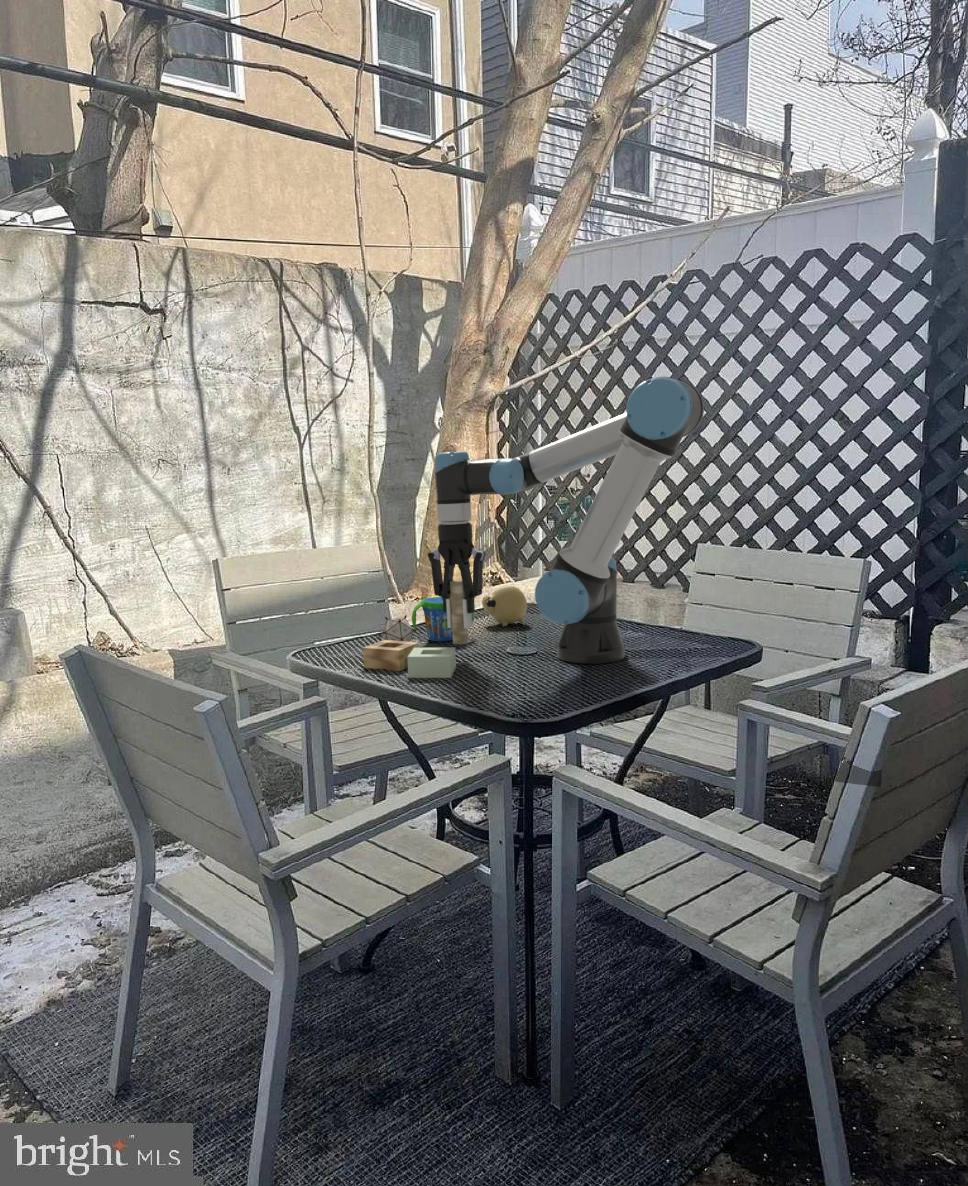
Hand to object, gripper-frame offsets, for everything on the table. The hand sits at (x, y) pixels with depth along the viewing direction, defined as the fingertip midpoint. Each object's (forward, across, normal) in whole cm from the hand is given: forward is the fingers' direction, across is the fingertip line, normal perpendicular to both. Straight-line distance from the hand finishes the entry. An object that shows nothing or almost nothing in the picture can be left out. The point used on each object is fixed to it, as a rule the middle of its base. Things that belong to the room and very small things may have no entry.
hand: (459, 626), depth 207 cm
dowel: (+4, 0, 0) cm, 4 cm away
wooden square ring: (+7, +13, +9) cm, 17 cm away
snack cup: (+8, +15, -20) cm, 26 cm away
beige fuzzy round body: (+8, +8, -43) cm, 44 cm away
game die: (+7, +20, -6) cm, 22 cm away
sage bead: (+8, +1, +12) cm, 15 cm away
